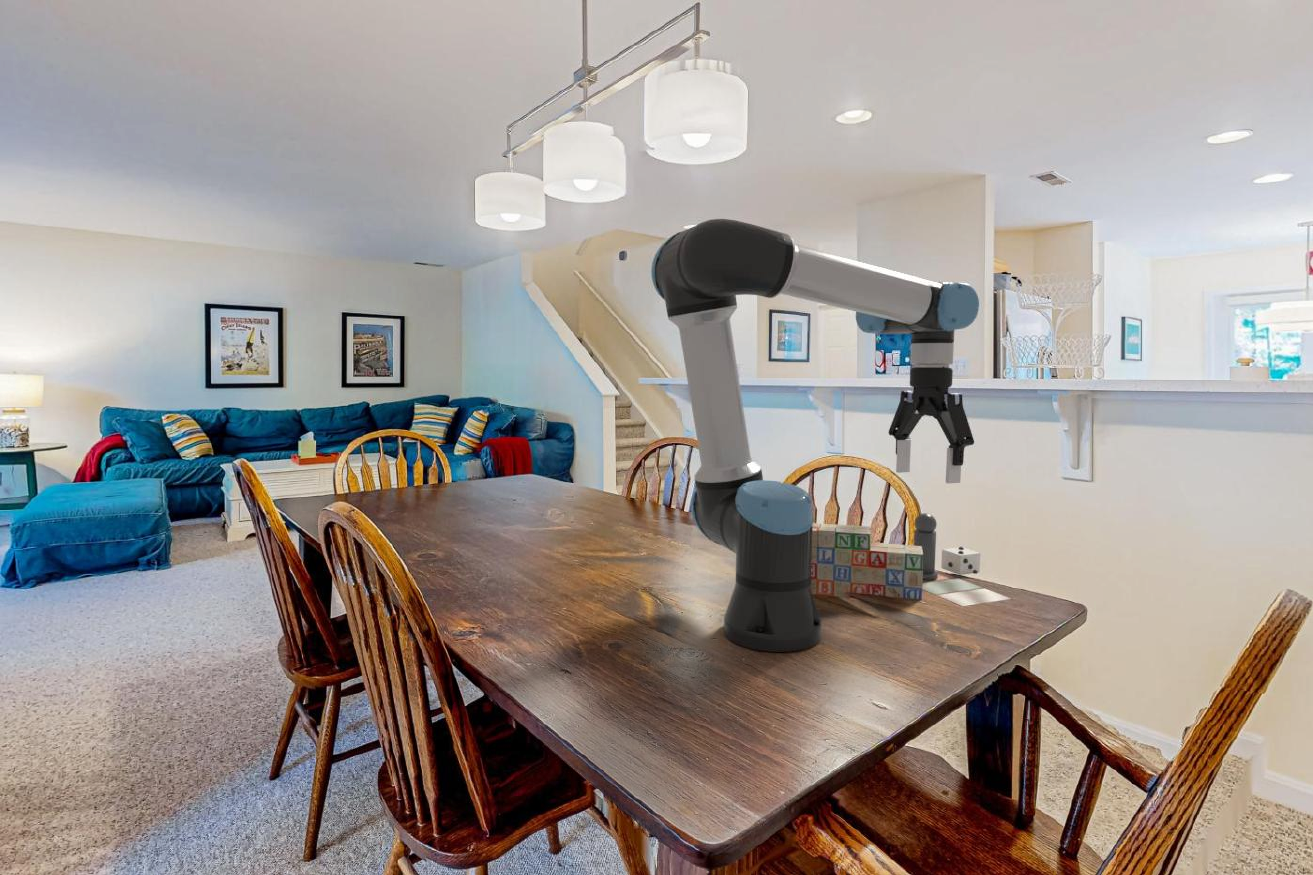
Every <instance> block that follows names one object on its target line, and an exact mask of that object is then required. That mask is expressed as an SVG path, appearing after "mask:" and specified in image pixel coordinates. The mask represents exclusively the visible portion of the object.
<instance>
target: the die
mask: <svg viewBox="0 0 1313 875" xmlns="http://www.w3.org/2000/svg"><path fill="white" fill-rule="evenodd" d="M940 565H941V566H940V567H941V569H943V570H945V571H948V572H951V573H952V574H957V575H959V576H963V575H971V574H978V573H980V569H981V568H980V567H981V553H980V552H977V551H976V550H972V549H969V548H965V547H963V546H958V547H950V548H943V549H941V564H940Z"/></svg>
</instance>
